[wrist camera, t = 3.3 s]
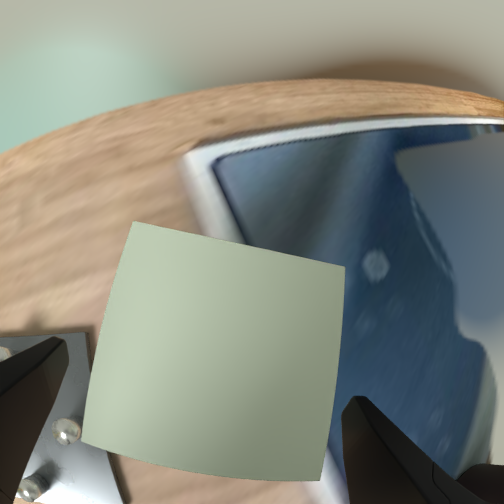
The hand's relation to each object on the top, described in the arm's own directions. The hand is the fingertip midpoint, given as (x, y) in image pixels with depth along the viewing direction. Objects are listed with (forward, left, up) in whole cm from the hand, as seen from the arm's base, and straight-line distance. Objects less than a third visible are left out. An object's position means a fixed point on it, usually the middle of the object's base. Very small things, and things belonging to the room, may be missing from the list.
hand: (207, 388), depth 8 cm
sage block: (+1, 0, -8) cm, 9 cm away
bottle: (+5, -25, -9) cm, 27 cm away
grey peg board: (-11, +5, -8) cm, 15 cm away
